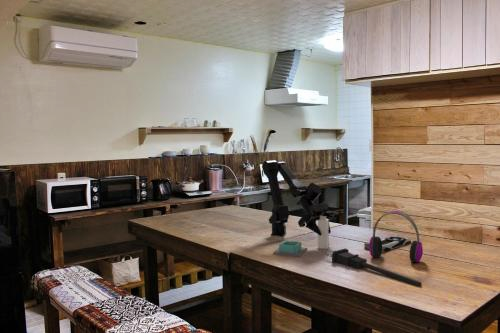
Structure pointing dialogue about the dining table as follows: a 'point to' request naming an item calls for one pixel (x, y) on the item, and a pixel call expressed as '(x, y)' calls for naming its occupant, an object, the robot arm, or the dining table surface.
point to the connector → (323, 232)
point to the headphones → (415, 246)
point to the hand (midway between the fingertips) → (325, 233)
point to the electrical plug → (365, 265)
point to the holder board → (290, 249)
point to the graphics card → (391, 243)
